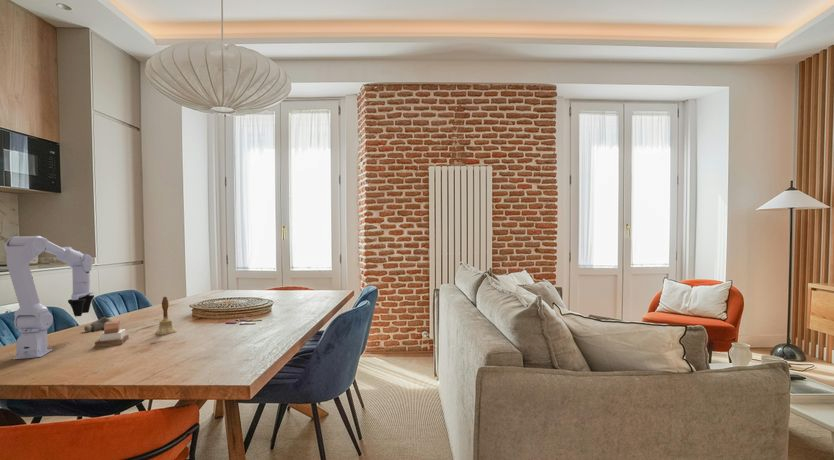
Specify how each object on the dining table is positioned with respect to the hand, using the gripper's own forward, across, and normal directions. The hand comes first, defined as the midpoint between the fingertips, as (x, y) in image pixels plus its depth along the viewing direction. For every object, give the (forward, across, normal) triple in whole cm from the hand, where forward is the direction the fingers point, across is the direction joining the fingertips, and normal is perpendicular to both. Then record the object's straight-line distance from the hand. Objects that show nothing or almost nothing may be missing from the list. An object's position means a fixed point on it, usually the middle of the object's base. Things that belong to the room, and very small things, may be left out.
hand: (81, 314), depth 177 cm
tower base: (+11, -12, -14) cm, 22 cm away
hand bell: (+11, -1, -31) cm, 33 cm away
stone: (+11, +18, -1) cm, 21 cm away
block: (+6, -13, -14) cm, 20 cm away
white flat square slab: (+8, -12, -14) cm, 20 cm away
